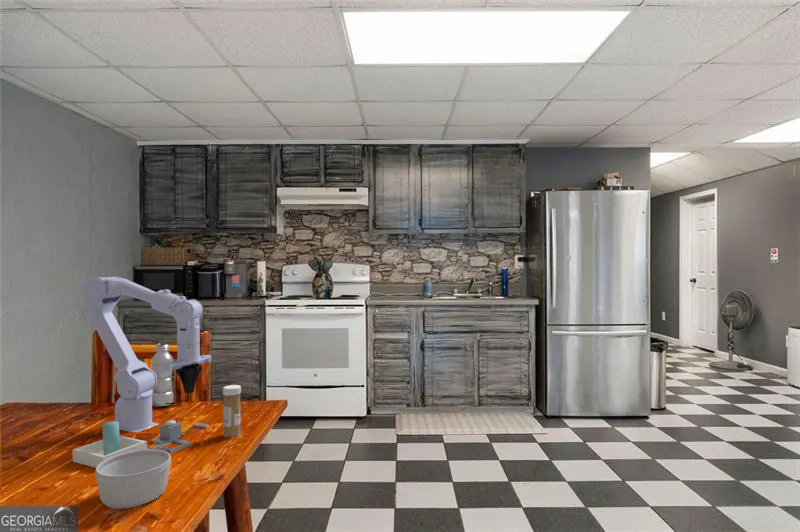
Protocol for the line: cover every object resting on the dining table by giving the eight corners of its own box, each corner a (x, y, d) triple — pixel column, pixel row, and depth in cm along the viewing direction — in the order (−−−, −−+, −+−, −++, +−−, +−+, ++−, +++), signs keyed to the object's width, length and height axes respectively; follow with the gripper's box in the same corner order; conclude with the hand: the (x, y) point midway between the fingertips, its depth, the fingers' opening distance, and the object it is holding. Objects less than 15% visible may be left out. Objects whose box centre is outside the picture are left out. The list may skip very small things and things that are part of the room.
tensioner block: (122, 463, 114) (122, 452, 114) (173, 442, 127) (173, 433, 127) (141, 467, 112) (141, 457, 112) (191, 446, 125) (191, 437, 125)
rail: (151, 443, 127) (151, 439, 127) (196, 426, 140) (196, 422, 140) (164, 446, 125) (164, 441, 125) (208, 429, 138) (208, 424, 138)
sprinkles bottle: (243, 437, 131) (243, 386, 131) (225, 440, 129) (225, 389, 129) (238, 432, 135) (238, 383, 135) (221, 435, 133) (221, 385, 133)
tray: (72, 461, 115) (72, 449, 115) (117, 445, 125) (116, 434, 125) (103, 469, 111) (103, 457, 111) (146, 452, 121) (146, 441, 121)
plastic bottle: (178, 404, 162) (178, 343, 162) (162, 410, 156) (162, 346, 156) (162, 402, 164) (162, 342, 164) (146, 408, 158) (146, 345, 158)
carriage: (159, 439, 128) (159, 422, 128) (171, 434, 132) (171, 418, 132) (169, 441, 127) (169, 424, 127) (181, 436, 130) (181, 420, 130)
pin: (100, 456, 117) (99, 424, 117) (114, 450, 120) (112, 420, 120) (109, 458, 116) (108, 426, 115) (123, 452, 119) (122, 422, 118)
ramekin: (118, 520, 89) (118, 481, 89) (81, 501, 96) (81, 465, 96) (184, 491, 100) (184, 457, 100) (147, 476, 107) (147, 444, 107)
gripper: (177, 348, 129) (177, 400, 129) (219, 340, 142) (219, 387, 142) (158, 346, 132) (158, 397, 132) (201, 339, 145) (201, 385, 145)
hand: (189, 392), depth 137 cm, fingers closed
